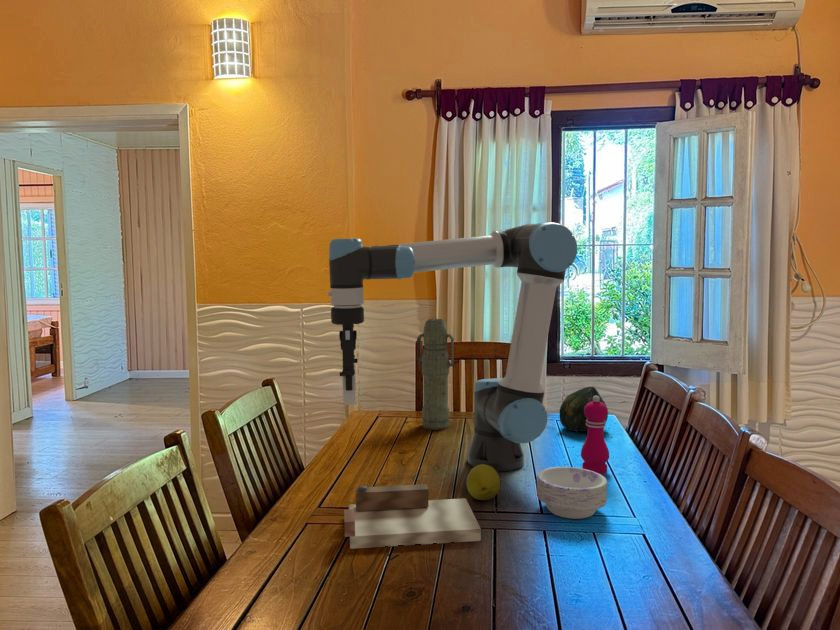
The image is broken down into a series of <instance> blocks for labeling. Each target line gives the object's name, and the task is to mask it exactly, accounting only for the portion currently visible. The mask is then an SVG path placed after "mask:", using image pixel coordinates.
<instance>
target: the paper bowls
mask: <svg viewBox="0 0 840 630" xmlns="http://www.w3.org/2000/svg"><path fill="white" fill-rule="evenodd" d="M536 498H538V500H539V501H541V502H542V503H544V504H545V506H546V508H547V510H548V511H549V512H550V513H552V514H553V515H555V516H557V517H561V518H564V519H568V520H581V519H586V518H589V517H592V516H593V515H594V514H595V513H596V511H597V510H598V509H601V508H604V506H606V505H607V502H608V480H607V478H606V477H605V476H604V475H603V474H602V475H601V474H599V473H597V472H594V471H591V470H587V469H582V467H576V466H575V467H574V466H573V467H572V466H553V467H546V468H544V469H542V470H540V471H539V472H538V473H537V475H536Z"/></svg>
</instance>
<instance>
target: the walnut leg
mask: <svg viewBox="0 0 840 630" xmlns="http://www.w3.org/2000/svg"><path fill="white" fill-rule="evenodd" d="M428 500H429V487H428V484H426V483H425V484H424V483H421V484H405V485H404V484H401V485H386V486H385V485H384V486H382V485H381V486H367V485H358V486H357V487H355V504H356V511H367V510H385V509H404V508H422V507H429V503H428Z"/></svg>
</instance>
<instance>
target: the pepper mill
mask: <svg viewBox="0 0 840 630" xmlns="http://www.w3.org/2000/svg"><path fill="white" fill-rule="evenodd" d="M599 401H600V398H599V396H594V397H593V401H592V402H589V403H588V404H586V406H585V408H584V414H585V416H586V417H587V419H586V425H587V427H588V431H587V435H586V437H585V440H584V443H583V445H582V446H581V450H580V457H581V459H582V460H583V462H582V466H581V468H582V469H587V470H591V471H594V472H597V473H599V474H601V475H602V476H603V475H605V474H607V472H608V465H607V462H608V461H609V459H610V449H609V447H608V445H607V443H606V440H605V437H604V429H605V427H606V426H607V425H606V424H605V423H607V421H605V418H606V417H607V415H608V416H609V410H608V406H607V405H605V404H606V403H605V404H604V403H602V402H599ZM606 406H607V407H606Z"/></svg>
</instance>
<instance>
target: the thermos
mask: <svg viewBox="0 0 840 630" xmlns="http://www.w3.org/2000/svg"><path fill="white" fill-rule="evenodd" d="M422 337H423V344H424V346H423V353H422ZM448 338H449V339H450V355H449V352H448V347H447V344H448ZM454 339H455V338H454V336H453V335H452V334H451V333H448V327H447V324H446V321H445V320H444V319H442V318H428V320H426V321H425V323H424V327H423V333H421V334H419V335H418V337H417V338H416V348H417V350H416V351H417V364H418V365H419V366H421V374H422V377H423V406H422V408H421V419H422V428H424V429H425V430H426V429H427V430H431V429H432V430H433V431H434V430H436V431H439V430H438V429H441V430H445V429H448V428H449V427H450V421H449V420H450V406H449V403H448V402H449V396H448V395H449V394H448V393H449V391H448V390H449V389H448V387H449V385H448V384H449V381H448V380H449V377H448V376H449V374H450V367H453V366H454V360H455V359H454V356H455V355H454V354H455V352H454V350H455V349H454V348H455V347H454V345H455V343H454Z"/></svg>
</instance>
